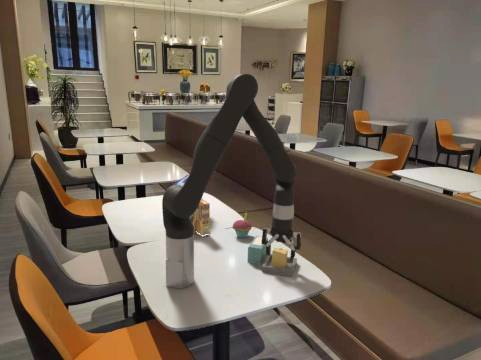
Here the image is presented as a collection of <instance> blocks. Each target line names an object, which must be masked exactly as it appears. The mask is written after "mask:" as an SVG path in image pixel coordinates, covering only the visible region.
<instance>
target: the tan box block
mask: <svg viewBox="0 0 481 360" xmlns="http://www.w3.org/2000/svg"><path fill="white" fill-rule="evenodd" d="M288 251H289V250H288V249H283V248H276V247H273V250H272V251H271V252H272V253H271V254H272V267H278V268H284V269H285V268H286V265H287V257H288Z"/></svg>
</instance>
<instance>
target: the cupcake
mask: <svg viewBox="0 0 481 360" xmlns="http://www.w3.org/2000/svg"><path fill="white" fill-rule="evenodd" d="M247 215H248V213H247V211H246V212H245V213H244V217H243V219H239V220H235V221H234V222H233V223H232V229H233V230H234V231H235V234H236V236H237V237H238V236H239V237H238V238H241V237H244V238H247V237H248V236H249V232H250V231H251V230H252V227H253V226H252V223H251V222H249V221H248V220H247ZM247 235H248V236H247ZM246 236H247V237H246Z"/></svg>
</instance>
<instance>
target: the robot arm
mask: <svg viewBox="0 0 481 360" xmlns="http://www.w3.org/2000/svg"><path fill="white" fill-rule="evenodd" d="M258 92H259V84H258V81H257V79H256V78H255V77H254V75H252V74H250V73H240V74H238V75H236V76H234V78H232V79H231V80H229V82H228V84H227V85H226V95H227V96H226V97H225V100H224V101H223V104H222V105H221V106H220V109H219V110H218V111H217V112H216V114H215V115H214V116H213V117H212V119H211V120H210V122H209V123H208V124H207V126H206V127H205V128H204V130H203V132H202V133H201V135H200V137H199V139H198V141H197V143H196V145H195V147H194V151H193V156H192V164H191V169H190V172H189V174H188V175H189V176H188V178H187V180H186V182H185V184H184V185H183V186H180V185H174V184H173V185H171V186H169V187H168V188H166V190H165V191H164V192H163V195H162V199H161V201H162V203H161V204H162V205H161V207H162V208H161V209H162V210H161V211H162V222H163V226H164V230H165V256H166V257H165V258H166V259H165V286H166V287H169V288H170V287H171V288H175V289H180V290H184V289H185V288H186V287H190V286H191V285H193V284H194V282H195V231H194V226H193V221H192V222H191V220H190V216H191V215H192V214H193V213H194V212H195V211H196V209H197V208H198V206H199V203H200V201H201V198H202V199H203V195H204V194H205V191H206V189H207V187H208V184H209V182H210V180H211V178H212V176H213V174H214V172H215V171H216V169H217V166H218V165H219V164H220V163H219V162H220V161H221V159H222V157H223V156H224V154H225V152H226V150H227V149H228V147H229V145H230V143H231V140H232V138H233V136H234V134H235V132H236V130H237V128H238V126H239V123H240V122H241V119H242V118H243V119H244V121H245V122H246V123H247V125H248V126H249V128H250V131H252V134H253V135H254V136H255V138H256V140H257V142H258V144H259V146H260V147H261V149H262V151H263V153H264V154H265V155H266V157H267V159H268V160H269V163H270V165H271V167H272V171H274V173H275V189H274V195H273V197H274V198H273V207H272V215H271V216H272V219H271V220H272V222H271V228H269V227H267V226H265V227H263V229H262V235H261V237H262V244H265V245H266V255H267V256H270V254H272V253H271V252H272V244H273V243H274V242H276V243H282V244H285V243H286V244H287V246H289V248H290V256H289V257H290V259H291V260H292V259H293V258H296V250H297V251H299V250H300V249H301V247H302V232H301V231H298V232H296V231H295V232H294V229H293V227H294V215H295V207H294V206H295V204H294V203H295V189H294V187H295V186H294V184H295V179H296V177H297V173H298V172H297V168H296V165H295V163H294V162H293V161H292V160H291V157H290V156H289V154H288V153H287V151H286V148H285V146H284V144H283V142H282V140H281V138H280V136H279V134H278V133H277V131H276V129H275V128H274V127H273V126H272V124H271V123H270V121H268V120H267V118H266V117H265V115H263V113H262V112H261V111H260V109H259V108H258V105H257V103H256V100H255V99H256V97H257V95H258ZM269 233H270V234H271V238H270V239H268V241H267V240H266V238H268V235H269ZM292 237H294V238H295V239H296V244H295V242H294V240H293V238H292Z"/></svg>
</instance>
